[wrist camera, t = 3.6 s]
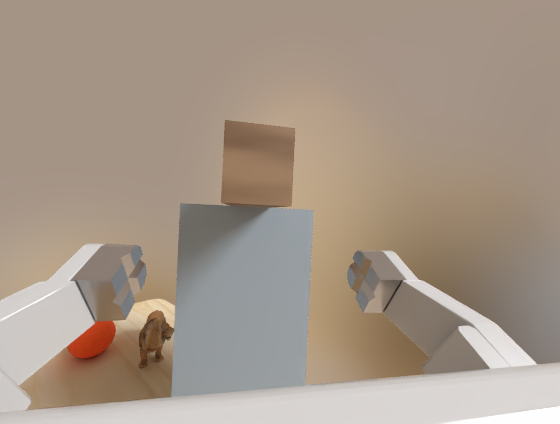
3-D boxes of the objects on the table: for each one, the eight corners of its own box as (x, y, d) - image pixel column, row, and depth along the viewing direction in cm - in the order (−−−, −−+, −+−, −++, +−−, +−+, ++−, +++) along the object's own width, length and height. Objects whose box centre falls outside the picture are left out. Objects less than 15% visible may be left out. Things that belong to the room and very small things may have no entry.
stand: (299, 511, 21) (313, 210, 21) (164, 538, 19) (180, 203, 19) (277, 396, 33) (286, 210, 33) (196, 404, 31) (205, 206, 31)
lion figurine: (174, 370, 38) (176, 319, 38) (138, 383, 35) (141, 327, 35) (163, 330, 50) (165, 291, 50) (135, 337, 47) (137, 295, 47)
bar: (291, 206, 11) (295, 128, 11) (221, 202, 10) (224, 120, 10) (258, 208, 33) (260, 182, 33) (235, 207, 32) (236, 180, 32)
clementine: (71, 377, 35) (73, 333, 35) (49, 363, 38) (51, 323, 38) (122, 349, 43) (124, 313, 43) (101, 339, 45) (103, 306, 45)
